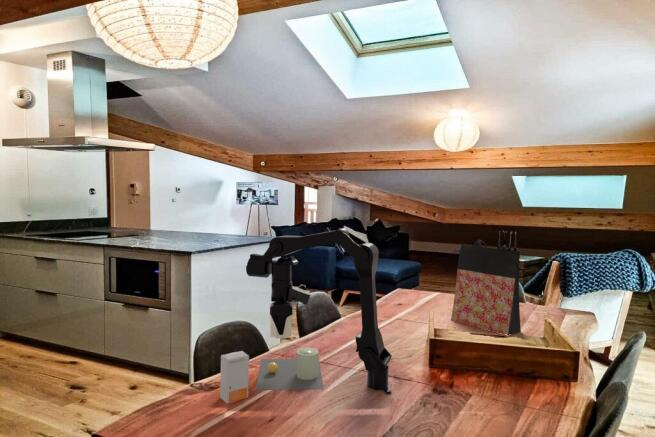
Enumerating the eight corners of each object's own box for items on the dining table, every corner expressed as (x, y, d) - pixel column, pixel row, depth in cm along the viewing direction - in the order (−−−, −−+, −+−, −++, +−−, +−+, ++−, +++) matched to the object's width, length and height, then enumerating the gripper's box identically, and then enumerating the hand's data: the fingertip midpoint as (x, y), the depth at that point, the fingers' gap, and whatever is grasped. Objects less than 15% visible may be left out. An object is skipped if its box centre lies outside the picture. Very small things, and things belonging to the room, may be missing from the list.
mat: (323, 392, 120) (323, 389, 120) (255, 393, 119) (255, 389, 119) (318, 361, 142) (318, 358, 142) (261, 362, 141) (261, 358, 141)
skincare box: (226, 407, 111) (227, 360, 110) (219, 400, 115) (220, 354, 114) (249, 401, 115) (249, 355, 114) (241, 394, 118) (242, 350, 117)
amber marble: (277, 375, 129) (277, 364, 129) (267, 375, 129) (267, 364, 128) (277, 370, 132) (278, 360, 132) (267, 370, 132) (267, 360, 131)
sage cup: (318, 379, 126) (319, 355, 126) (297, 379, 126) (297, 355, 125) (317, 371, 132) (317, 347, 132) (296, 371, 132) (297, 347, 131)
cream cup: (291, 337, 130) (291, 314, 130) (270, 338, 129) (270, 314, 129) (290, 331, 136) (291, 308, 136) (270, 331, 135) (270, 308, 135)
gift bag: (524, 330, 180) (528, 243, 178) (505, 337, 171) (509, 245, 169) (461, 313, 203) (464, 236, 201) (441, 319, 194) (444, 238, 192)
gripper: (311, 285, 123) (310, 341, 124) (307, 273, 142) (306, 321, 143) (269, 285, 122) (269, 342, 123) (271, 273, 141) (271, 322, 142)
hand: (281, 331), depth 133 cm, fingers closed on cream cup, 6 cm apart
